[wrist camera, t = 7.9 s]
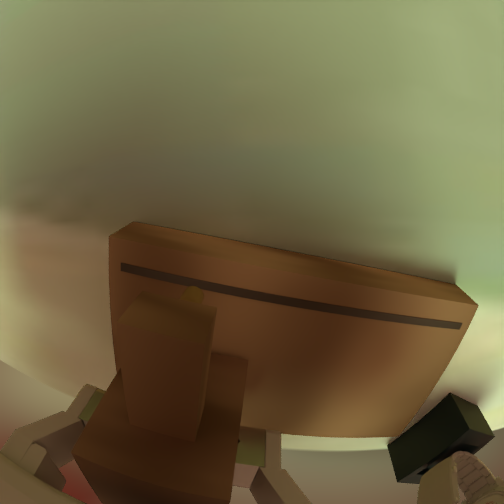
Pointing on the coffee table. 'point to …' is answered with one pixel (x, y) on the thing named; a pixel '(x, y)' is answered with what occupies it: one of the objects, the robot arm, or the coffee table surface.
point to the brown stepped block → (166, 409)
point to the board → (303, 327)
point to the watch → (447, 456)
